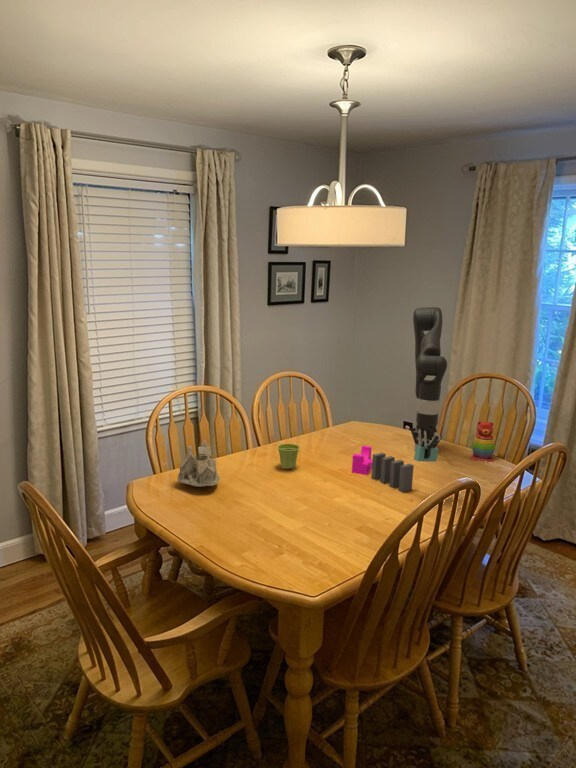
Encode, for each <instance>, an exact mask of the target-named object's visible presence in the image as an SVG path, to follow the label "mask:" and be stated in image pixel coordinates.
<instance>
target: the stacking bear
mask: <svg viewBox="0 0 576 768" xmlns="http://www.w3.org/2000/svg"><path fill="white" fill-rule="evenodd" d="M476 430H477V434H476V435H475V436H474V438H473V441H472V446H471V447H472V455H470V456H469V460H470V461H472V460H474V462H485V461H487V462H486V463H488V462H494V460H495V458H494V457H493V456H494V453H495V450H496V449H495V448H496V446H495V445H496V444H495V439H494V436H493V435H492V434H493V433H494V432H493V431H494V423H493V422H491V421H490V422H488V421H478V422H477V427H476ZM478 460H479V461H478ZM494 463H495V462H494Z"/></svg>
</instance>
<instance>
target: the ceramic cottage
mask: <svg viewBox="0 0 576 768" xmlns="http://www.w3.org/2000/svg"><path fill="white" fill-rule="evenodd" d="M207 443H208V442H207V441H206V439H205V440H203V442H202V443H201V444H200V446H198V448H197V455H195V456H194V455H193V446H191V445H189V446H187V450H186V451H187V452H186V453H187V454H186V455H185V457H184V458H183V459H182V461H181V462H180V463H179V464H178V465H179V473H178V474H177V481H178V482H179V483H182V484H186V485H190V486H193V487H200V488H201V487H207V486H208V487H210V486H211V487H212V486H213V487H214V486H215V485H217V483H219V481H220V478H221V477H220V474H219V473H217V460H216V458H213V459H212V447H211V446H208V444H207Z"/></svg>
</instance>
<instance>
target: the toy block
mask: <svg viewBox="0 0 576 768" xmlns="http://www.w3.org/2000/svg"><path fill="white" fill-rule="evenodd" d="M372 460H373V458H372V446H369V445H362V446H361V450H360V453H354V454H353V455H352V461H351V462H352V463H351V464H352V465H351V473H353V474H359V475H364V476H367V475H368V474H369V473H370V472H372Z"/></svg>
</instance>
